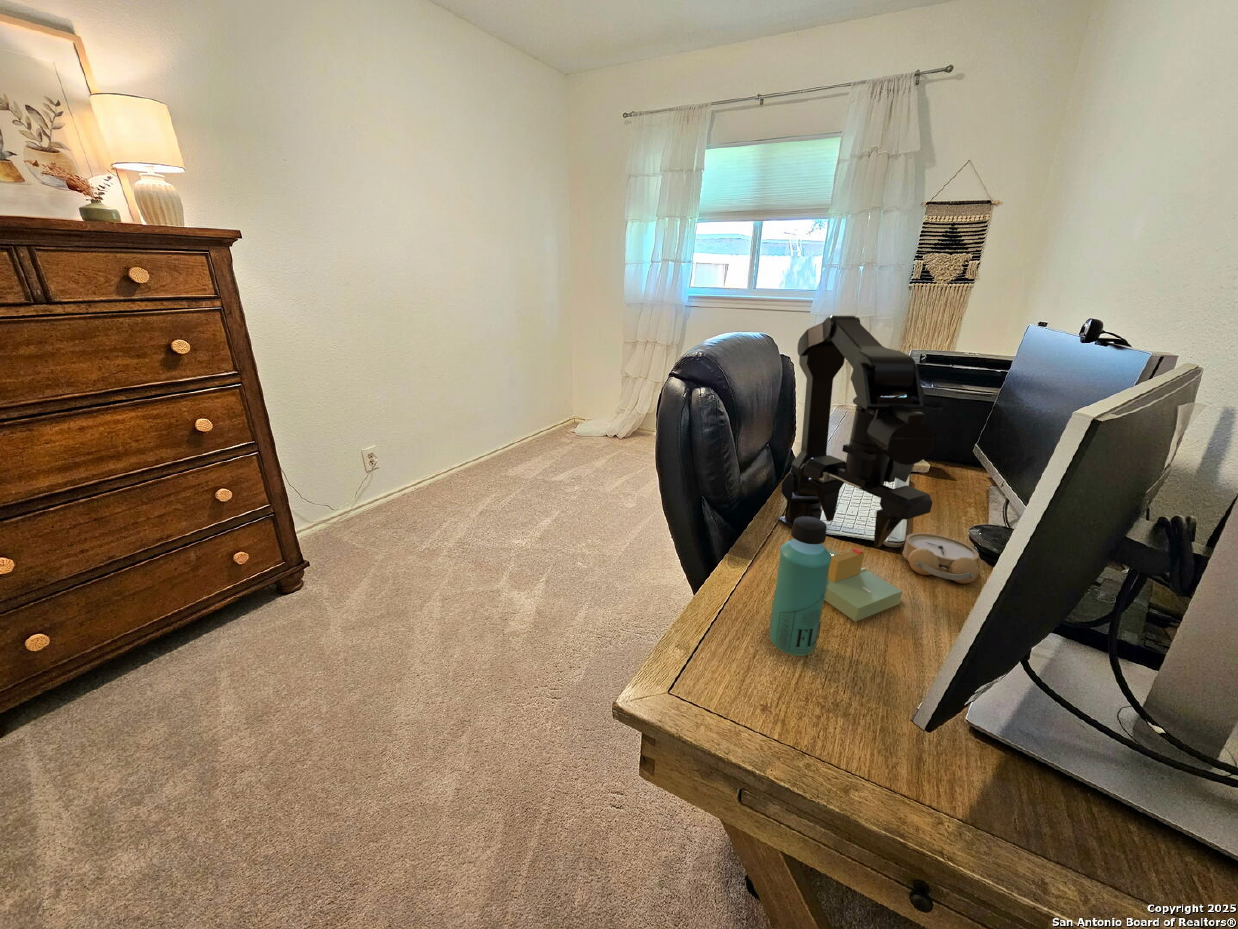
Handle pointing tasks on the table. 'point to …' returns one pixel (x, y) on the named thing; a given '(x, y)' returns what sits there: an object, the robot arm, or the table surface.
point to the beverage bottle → (800, 588)
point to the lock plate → (861, 594)
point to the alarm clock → (941, 557)
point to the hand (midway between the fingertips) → (852, 532)
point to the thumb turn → (845, 565)
